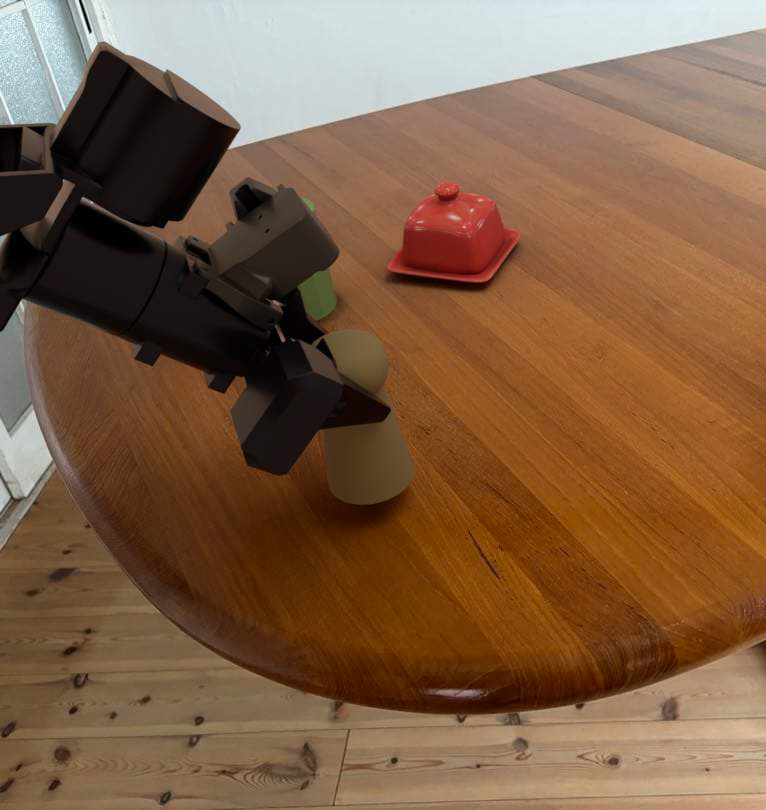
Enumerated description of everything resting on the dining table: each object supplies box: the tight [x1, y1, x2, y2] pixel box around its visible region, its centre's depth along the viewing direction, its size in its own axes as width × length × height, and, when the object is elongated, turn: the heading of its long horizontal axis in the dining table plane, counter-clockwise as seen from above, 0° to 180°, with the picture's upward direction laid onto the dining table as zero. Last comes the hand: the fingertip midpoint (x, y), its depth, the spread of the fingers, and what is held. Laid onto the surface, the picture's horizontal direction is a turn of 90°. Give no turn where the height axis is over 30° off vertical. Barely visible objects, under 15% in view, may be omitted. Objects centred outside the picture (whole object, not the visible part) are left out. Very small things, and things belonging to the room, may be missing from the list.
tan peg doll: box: [311, 328, 416, 506], centre depth 54 cm, size 6×6×11 cm
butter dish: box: [386, 181, 522, 284], centre depth 83 cm, size 12×12×8 cm
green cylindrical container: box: [235, 197, 338, 322], centre depth 77 cm, size 7×7×10 cm
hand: (375, 393), depth 53 cm, fingers closed on tan peg doll, 5 cm apart
